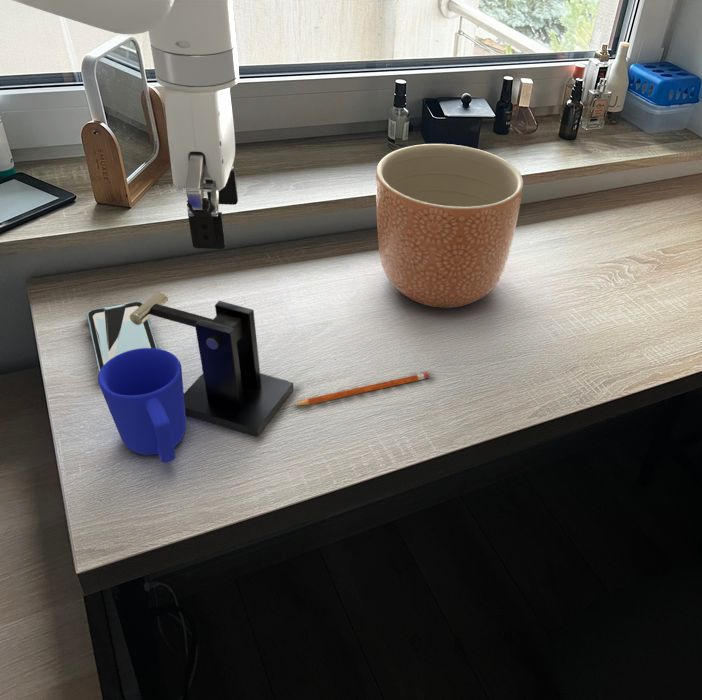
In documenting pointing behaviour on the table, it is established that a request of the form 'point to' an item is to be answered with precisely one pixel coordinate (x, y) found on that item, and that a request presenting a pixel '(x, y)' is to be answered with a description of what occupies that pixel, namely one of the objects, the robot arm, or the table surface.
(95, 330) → the smartphone
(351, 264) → the table surface
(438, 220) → the planter
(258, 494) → the table surface
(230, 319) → the lever
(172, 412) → the mug
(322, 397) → the pencil
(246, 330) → the bracket
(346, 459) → the table surface
